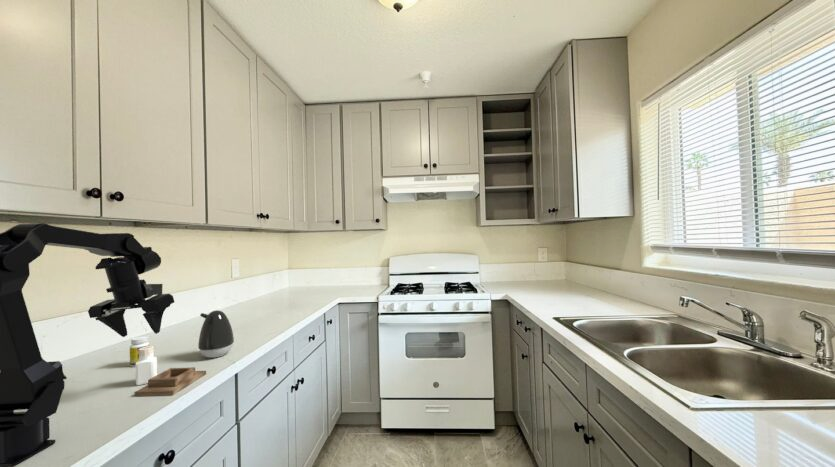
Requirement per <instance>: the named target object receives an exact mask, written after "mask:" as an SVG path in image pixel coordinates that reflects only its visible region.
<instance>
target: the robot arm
mask: <svg viewBox="0 0 835 467" xmlns="http://www.w3.org/2000/svg"><path fill="white" fill-rule="evenodd" d="M46 246H53V247H61V248H68V249H69V248H70V249H80V250H81V249H82V250H85V251H88V252H89V253H91V254H93V255H97V256H100V257H103V258H101V259H100V261H99V263H97V264H96V265H95V267H94V268H95V270H103V269H104V271H105V274H106V277H107V281H108V283H109V287H107V288H106V289H105V291H106V293H112V296H113V299H106V300H104V301H101V302H99V303H96V304H94V305H92V306H90V307H89V309H88V311H87V313H88V316H89V318H90V319H95V321H99V322H101V323H102V324H104V325H105V326H107V327H108V328H110V329H111V330H113V331H114V332H115V333H117V334H118V335H119V336H121V337H122V338H125V337H127V336H128V329H127V325H126V320H125V317H124V314H125V313H126V310H133V309H140V308H141V310H142V311H143V312H144V313H142V316H143V318H144V319H145V320H146V322H147V323H148V325H149V327H150V328H151V331H153V332H154V334H156V335H157V334H159V333H160V332H161V326H162V320H163V315H164V312H165V311H166V309H168V308H169V307H171V305H172V304H174V303H175V299H174V296H173V295H172V294H170V293H163V285H164V284H163V283H147V282H146V280H145V279H140V277H139V275H143V274H145V273H148V272H149V271H153V270H155V269H157V268H159V267H160V266H161V263H162V258H161V256H160V255H159V254H158V253H157V252H156V251H154V250H153V249H152V246H143V245H142V244H141V243H140V242H139V241H138V240H137V239H136V238H135V235H134V234H132V233H130V232H125V233H123V232H120V233H117V232H116V233H114V232H112V233H99V232H93V231H86V230H81V229H74V228H67V227H62V226H61V227H60V226H56V225H51V224H49V223H45V222H42V223H41V222H40V223H39V222H37V223H36V222H35V223H33V222H32V223H19V224H16V225H14V226H12V227H10V228H8V229H6V230H5V231H3V232H0V467H13V466H16V465H18V464H21V463H22V462H23V461H25V460H27V459H29V458H31V457H32V456H34V455H37V454H38V453H39V452H42V451H43V450H45V449H46V448H48V447H50V446H52V445H53V444H55V443H56V439H50V437H51V436H50V434H51V433H50V432H51V430H50V416H52V415H55V414H56V413H57V410H58V407H59V405H60V402H61V397H62V394H63V392H64V390H65V380H67V376H66V375H65V374H64V370H63V364H62V363H61V361H60V360H57V361H55V360H54V361H46V360H45V359H44V358H43V357H42V354H41V351H40V347H39V344H38V340H37V337H36V334H35V330H34V328H33V324H32V320H31V317H30V315H29V311H28V307H27V304H26V300H25V297H24V294H23V289H24V286H25V284H26V282H27V281H28V279H29V277H30V274H31V273H30V264H31V263H32V262H33V261H35V260H36V259H38V258H39V257H40V256H41V255H42V254H43V252H44V249H45V247H46ZM104 257H105V258H104ZM114 257H115V258H114ZM22 410H26V411H22Z"/></svg>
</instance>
